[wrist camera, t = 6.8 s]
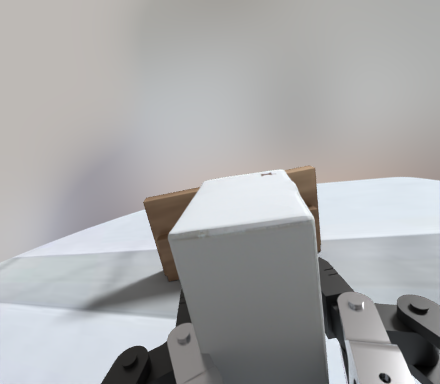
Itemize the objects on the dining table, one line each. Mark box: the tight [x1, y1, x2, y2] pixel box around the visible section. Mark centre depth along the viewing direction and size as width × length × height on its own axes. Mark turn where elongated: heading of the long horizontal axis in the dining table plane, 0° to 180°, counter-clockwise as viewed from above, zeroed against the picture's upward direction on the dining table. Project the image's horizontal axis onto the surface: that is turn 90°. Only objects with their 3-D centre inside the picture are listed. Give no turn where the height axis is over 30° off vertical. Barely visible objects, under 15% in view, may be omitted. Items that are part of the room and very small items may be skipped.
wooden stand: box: [143, 166, 321, 281], centre depth 23 cm, size 8×18×9 cm, turn 93°
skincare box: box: [168, 169, 329, 384], centre depth 11 cm, size 6×4×12 cm
